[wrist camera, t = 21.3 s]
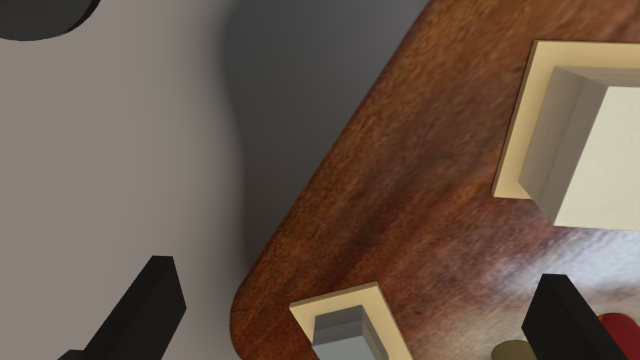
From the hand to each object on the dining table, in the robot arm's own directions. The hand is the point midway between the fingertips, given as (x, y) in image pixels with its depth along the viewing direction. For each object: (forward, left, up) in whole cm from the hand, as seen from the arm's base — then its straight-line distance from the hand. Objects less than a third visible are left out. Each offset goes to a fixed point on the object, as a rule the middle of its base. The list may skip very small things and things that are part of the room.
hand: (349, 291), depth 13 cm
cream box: (+7, +21, -26) cm, 35 cm away
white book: (+7, +21, -20) cm, 30 cm away
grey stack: (+33, -7, -26) cm, 43 cm away
